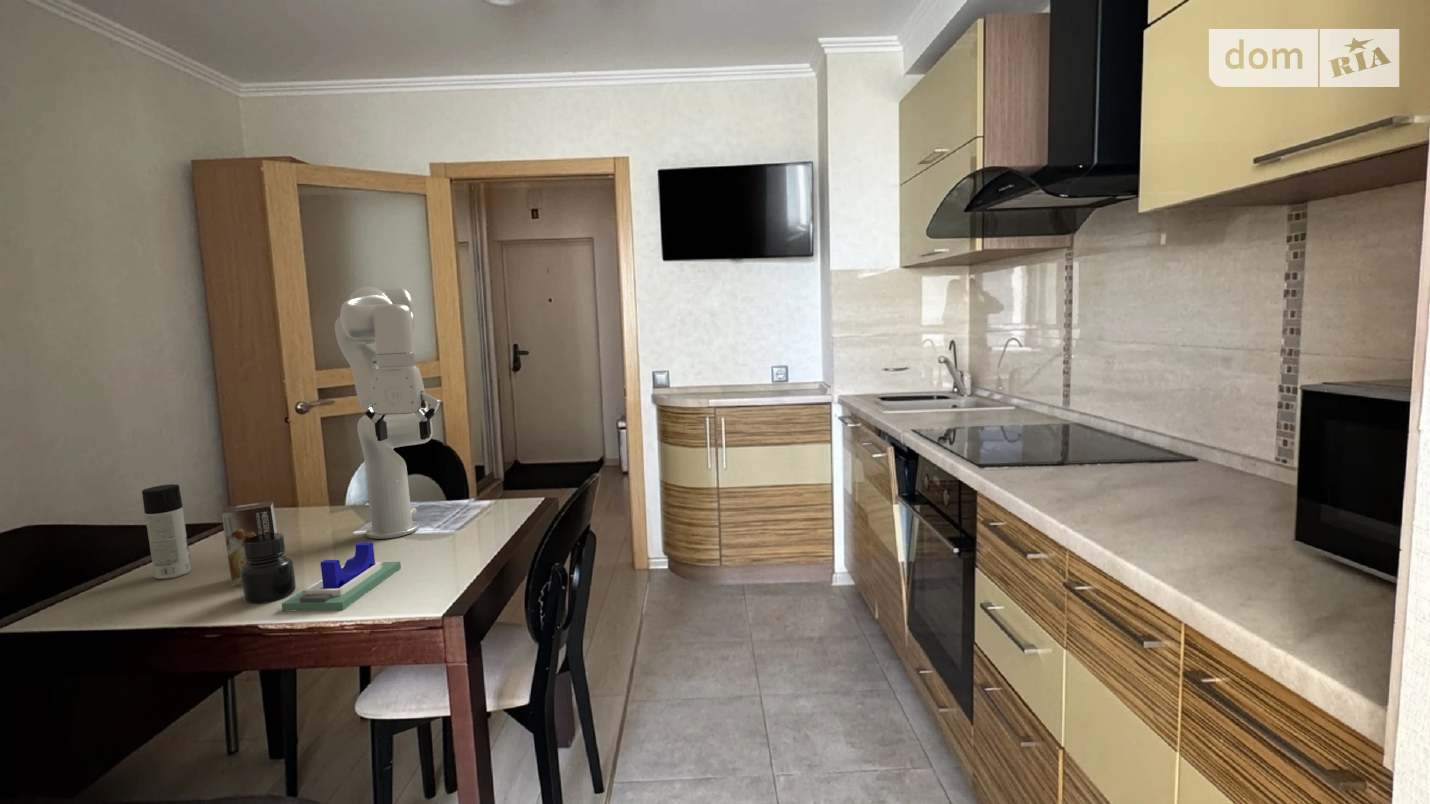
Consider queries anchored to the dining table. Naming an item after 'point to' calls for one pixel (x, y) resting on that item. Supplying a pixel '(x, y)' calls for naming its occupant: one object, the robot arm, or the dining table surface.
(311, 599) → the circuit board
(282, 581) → the ink bottle
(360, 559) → the cable clip
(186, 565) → the spray can
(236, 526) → the coffee box
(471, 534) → the dining table surface
